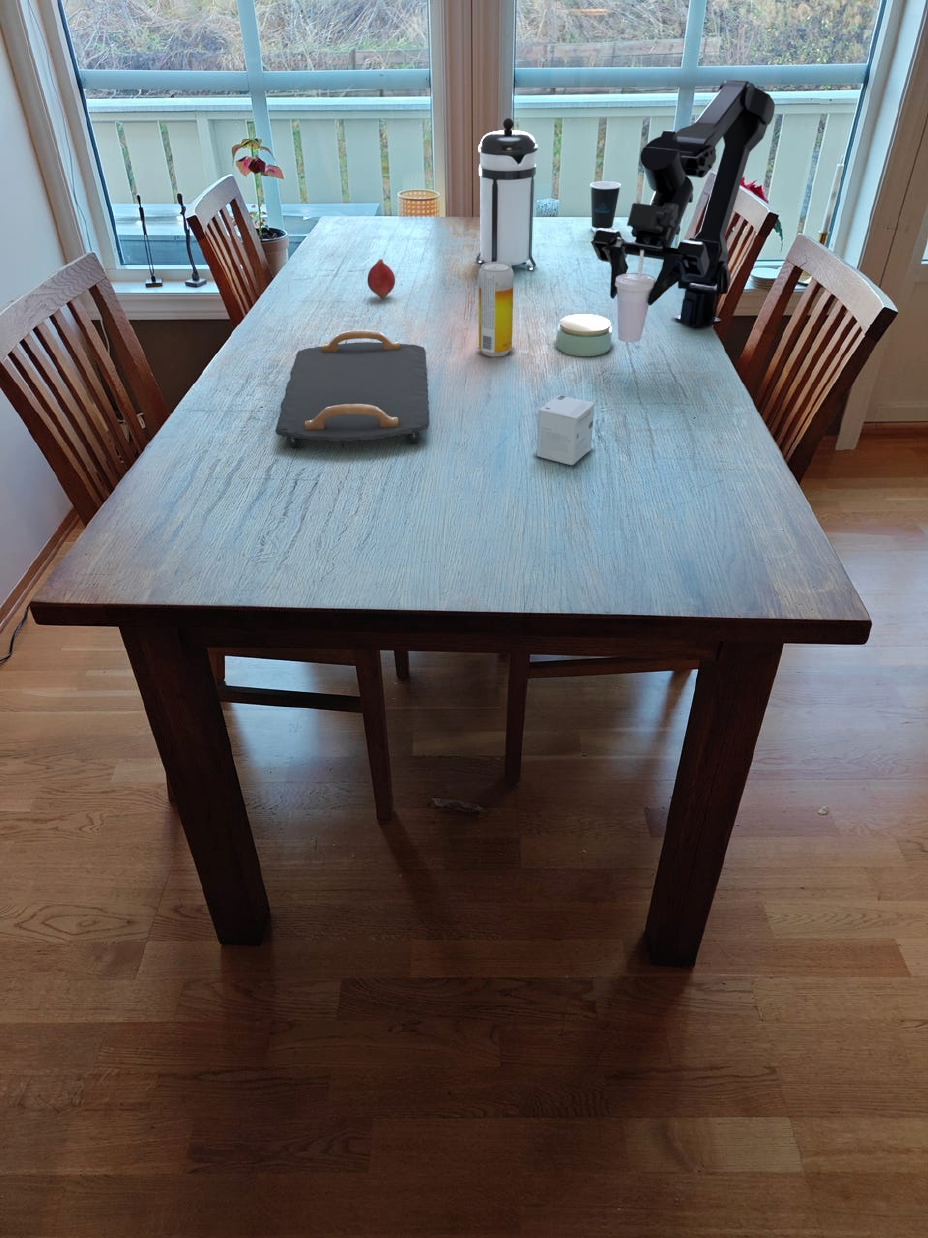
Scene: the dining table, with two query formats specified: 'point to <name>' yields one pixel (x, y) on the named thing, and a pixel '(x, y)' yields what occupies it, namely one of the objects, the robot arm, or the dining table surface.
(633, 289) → the smoothie
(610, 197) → the dixie cup
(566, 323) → the jar
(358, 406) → the serving tray
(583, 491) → the dining table surface
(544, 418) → the product carton
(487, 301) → the beer can
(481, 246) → the coffee press
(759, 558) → the dining table surface
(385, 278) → the onion
